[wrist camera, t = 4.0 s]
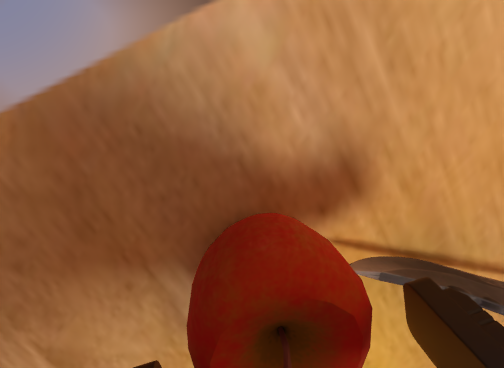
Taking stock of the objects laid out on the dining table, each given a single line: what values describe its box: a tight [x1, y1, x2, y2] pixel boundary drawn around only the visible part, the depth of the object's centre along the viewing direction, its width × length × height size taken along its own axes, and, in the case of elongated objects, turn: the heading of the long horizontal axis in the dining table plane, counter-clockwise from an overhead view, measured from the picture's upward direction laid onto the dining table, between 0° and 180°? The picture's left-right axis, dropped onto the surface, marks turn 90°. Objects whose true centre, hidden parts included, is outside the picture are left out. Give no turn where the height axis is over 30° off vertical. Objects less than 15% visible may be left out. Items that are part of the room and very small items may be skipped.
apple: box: [187, 213, 372, 368], centre depth 14 cm, size 6×6×8 cm
